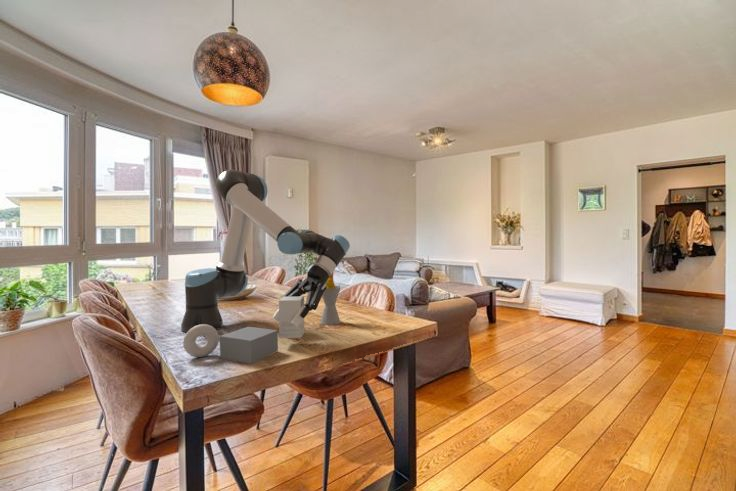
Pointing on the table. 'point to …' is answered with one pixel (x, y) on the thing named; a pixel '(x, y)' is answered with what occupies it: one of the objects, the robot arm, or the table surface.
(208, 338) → the donut
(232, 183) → the robot arm
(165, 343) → the table surface
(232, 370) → the table surface
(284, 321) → the supplement box
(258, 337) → the slate block
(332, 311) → the lava lamp
